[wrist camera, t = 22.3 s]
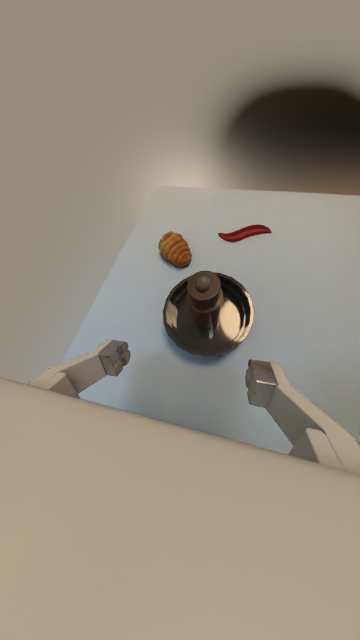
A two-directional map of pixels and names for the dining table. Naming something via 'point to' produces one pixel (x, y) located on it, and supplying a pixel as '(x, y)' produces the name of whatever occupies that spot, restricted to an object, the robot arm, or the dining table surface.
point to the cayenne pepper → (245, 233)
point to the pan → (221, 337)
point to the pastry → (175, 249)
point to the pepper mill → (205, 299)
